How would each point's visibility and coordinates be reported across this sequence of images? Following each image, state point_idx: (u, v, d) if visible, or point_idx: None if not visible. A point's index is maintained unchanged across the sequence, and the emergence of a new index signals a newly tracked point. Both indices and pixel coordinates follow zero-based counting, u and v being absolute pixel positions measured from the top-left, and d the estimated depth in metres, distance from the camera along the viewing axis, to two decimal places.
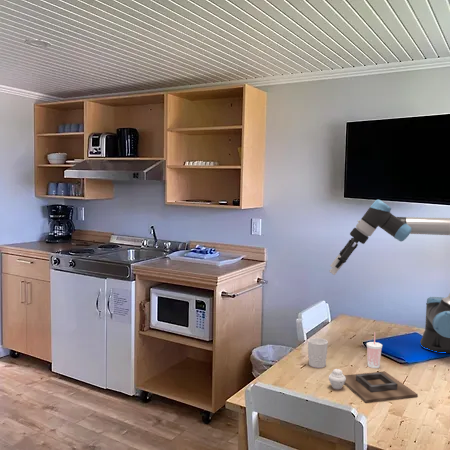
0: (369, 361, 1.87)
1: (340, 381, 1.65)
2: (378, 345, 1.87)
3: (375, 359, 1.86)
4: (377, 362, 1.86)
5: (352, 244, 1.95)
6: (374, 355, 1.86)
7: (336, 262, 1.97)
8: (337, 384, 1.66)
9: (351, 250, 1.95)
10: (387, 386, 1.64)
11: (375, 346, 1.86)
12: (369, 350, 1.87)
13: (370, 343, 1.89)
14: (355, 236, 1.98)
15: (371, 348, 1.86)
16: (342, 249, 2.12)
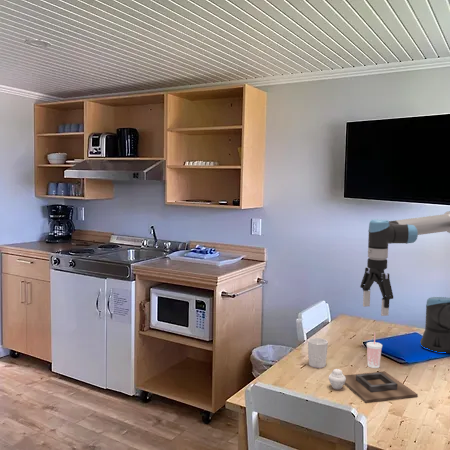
0: (369, 361, 1.87)
1: (340, 381, 1.65)
2: (378, 345, 1.87)
3: (375, 359, 1.86)
4: (377, 362, 1.86)
5: (385, 277, 1.78)
6: (374, 355, 1.86)
7: (382, 303, 1.79)
8: (337, 384, 1.66)
9: (388, 283, 1.78)
10: (387, 386, 1.64)
11: (375, 346, 1.86)
12: (369, 350, 1.87)
13: (370, 343, 1.89)
14: (378, 267, 1.81)
15: (371, 348, 1.86)
16: (361, 283, 1.94)
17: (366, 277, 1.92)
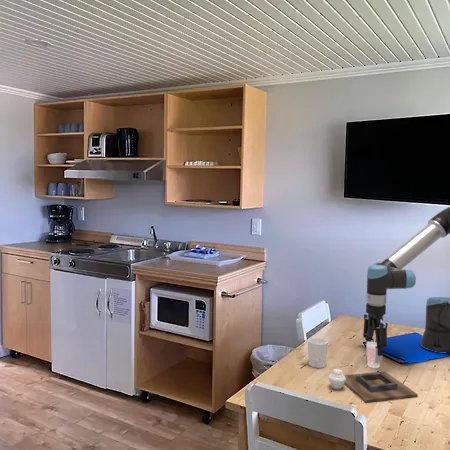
0: (369, 361, 1.87)
1: (340, 381, 1.65)
2: None
3: None
4: None
5: (383, 327, 1.80)
6: (374, 355, 1.86)
7: (376, 351, 1.84)
8: (337, 384, 1.66)
9: (385, 332, 1.81)
10: (387, 386, 1.64)
11: None
12: (369, 350, 1.87)
13: (370, 343, 1.89)
14: (377, 313, 1.83)
15: (371, 348, 1.86)
16: (363, 333, 1.93)
17: (367, 324, 1.92)
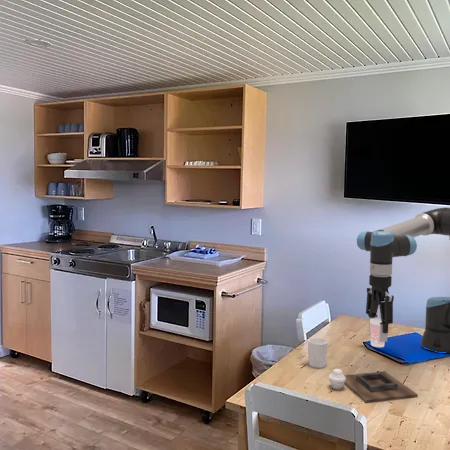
0: (372, 340, 1.66)
1: (340, 381, 1.65)
2: None
3: None
4: None
5: (388, 300, 1.59)
6: (378, 333, 1.64)
7: (381, 328, 1.63)
8: (337, 384, 1.66)
9: (391, 306, 1.60)
10: (387, 386, 1.64)
11: (379, 322, 1.64)
12: (373, 327, 1.65)
13: (374, 319, 1.68)
14: (382, 285, 1.61)
15: (375, 325, 1.64)
16: (366, 308, 1.72)
17: (370, 299, 1.71)
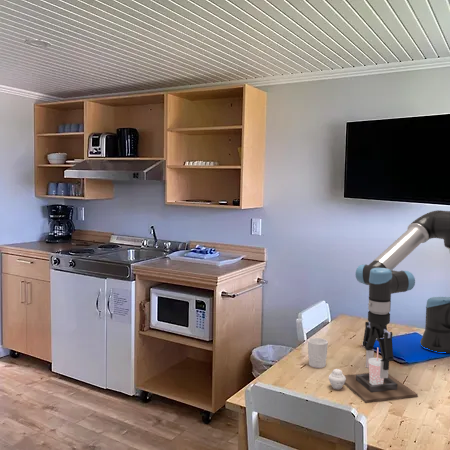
0: (371, 380, 1.67)
1: (340, 381, 1.65)
2: None
3: (378, 377, 1.66)
4: (380, 381, 1.66)
5: (387, 336, 1.60)
6: (377, 373, 1.66)
7: (382, 364, 1.63)
8: (337, 384, 1.66)
9: (390, 343, 1.60)
10: (387, 386, 1.64)
11: (378, 363, 1.66)
12: (371, 367, 1.67)
13: (372, 359, 1.69)
14: (380, 322, 1.63)
15: (374, 365, 1.66)
16: (363, 341, 1.74)
17: (368, 333, 1.73)
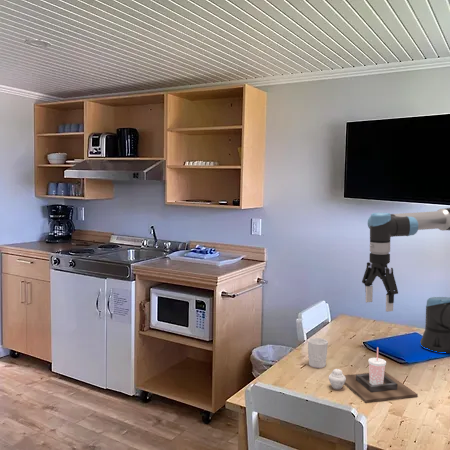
0: (371, 380, 1.67)
1: (340, 381, 1.65)
2: (381, 362, 1.67)
3: (378, 377, 1.66)
4: (380, 381, 1.66)
5: (388, 271, 1.73)
6: (377, 373, 1.66)
7: (387, 298, 1.74)
8: (337, 384, 1.66)
9: (392, 277, 1.73)
10: (387, 386, 1.64)
11: (378, 363, 1.66)
12: (371, 367, 1.67)
13: (372, 359, 1.69)
14: (381, 262, 1.76)
15: (373, 365, 1.66)
16: (363, 278, 1.89)
17: (368, 272, 1.87)
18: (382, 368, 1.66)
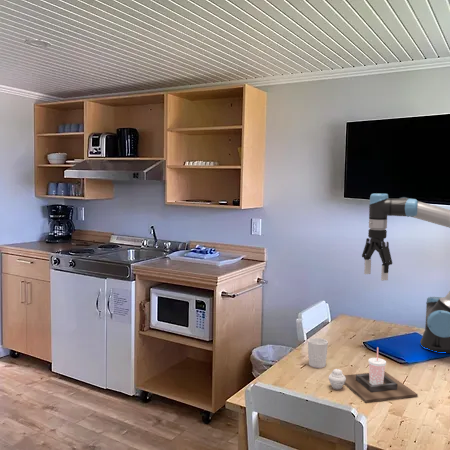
0: (371, 380, 1.67)
1: (340, 381, 1.65)
2: (381, 362, 1.67)
3: (378, 377, 1.66)
4: (380, 381, 1.66)
5: (384, 245, 1.96)
6: (377, 373, 1.66)
7: (382, 268, 1.97)
8: (337, 384, 1.66)
9: (388, 250, 1.96)
10: (387, 386, 1.64)
11: (378, 363, 1.66)
12: (371, 367, 1.67)
13: (372, 359, 1.69)
14: (379, 236, 1.99)
15: (373, 365, 1.66)
16: (363, 253, 2.12)
17: (367, 247, 2.09)
18: (382, 368, 1.66)
